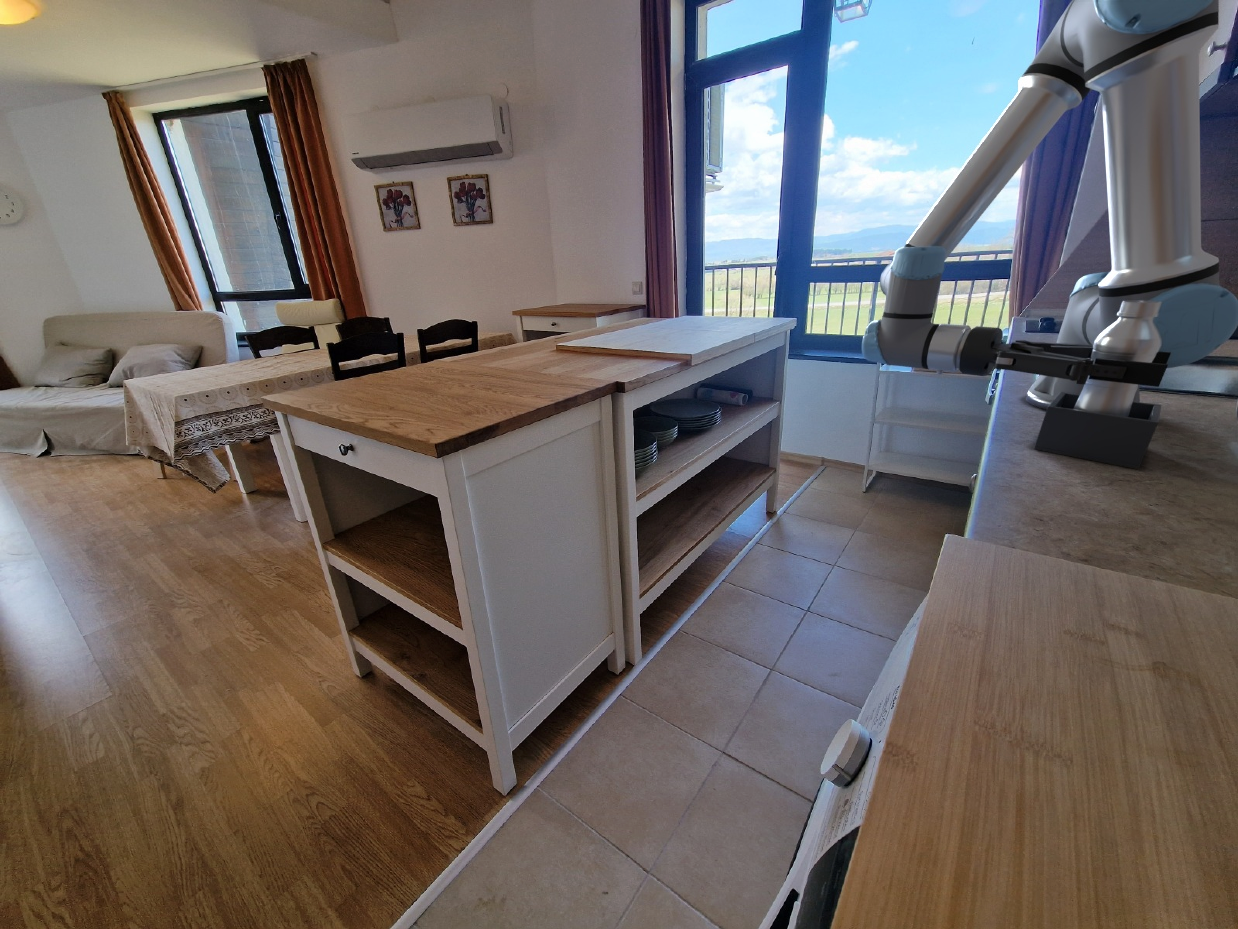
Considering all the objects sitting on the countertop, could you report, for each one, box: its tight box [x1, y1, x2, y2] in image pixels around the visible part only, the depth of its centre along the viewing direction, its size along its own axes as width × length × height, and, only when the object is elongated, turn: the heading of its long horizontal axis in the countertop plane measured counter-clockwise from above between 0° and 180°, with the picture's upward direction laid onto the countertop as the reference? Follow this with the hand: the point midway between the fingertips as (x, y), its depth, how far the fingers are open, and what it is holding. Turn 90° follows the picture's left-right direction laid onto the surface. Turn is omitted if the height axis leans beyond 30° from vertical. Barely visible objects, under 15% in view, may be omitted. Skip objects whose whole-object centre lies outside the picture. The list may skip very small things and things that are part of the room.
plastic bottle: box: [1073, 300, 1162, 417], centre depth 67 cm, size 6×7×20 cm
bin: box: [1033, 392, 1162, 470], centre depth 69 cm, size 11×11×6 cm
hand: (1165, 368), depth 63 cm, fingers open, 10 cm apart
